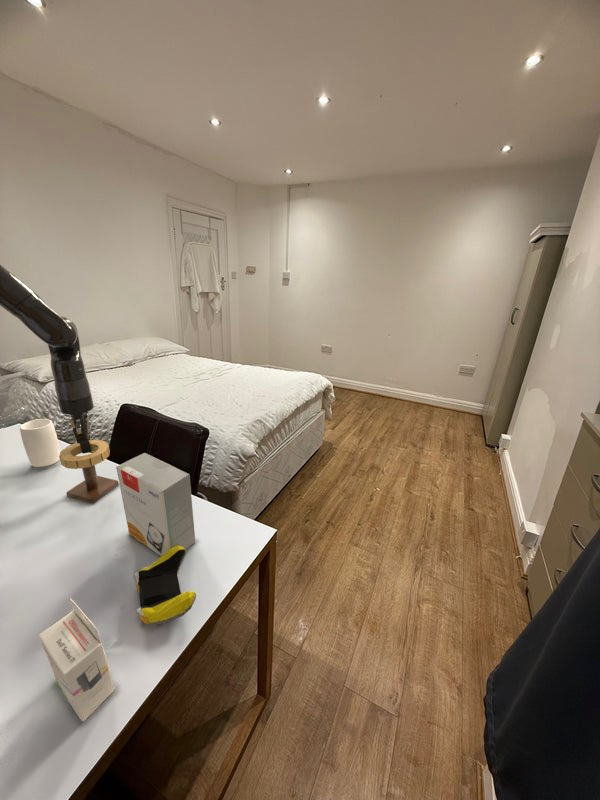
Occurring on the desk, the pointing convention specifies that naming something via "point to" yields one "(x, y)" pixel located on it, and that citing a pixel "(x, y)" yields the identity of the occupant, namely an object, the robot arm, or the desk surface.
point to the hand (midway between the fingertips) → (87, 449)
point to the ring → (75, 462)
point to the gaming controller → (163, 589)
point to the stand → (92, 486)
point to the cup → (40, 442)
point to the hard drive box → (157, 503)
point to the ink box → (78, 661)
